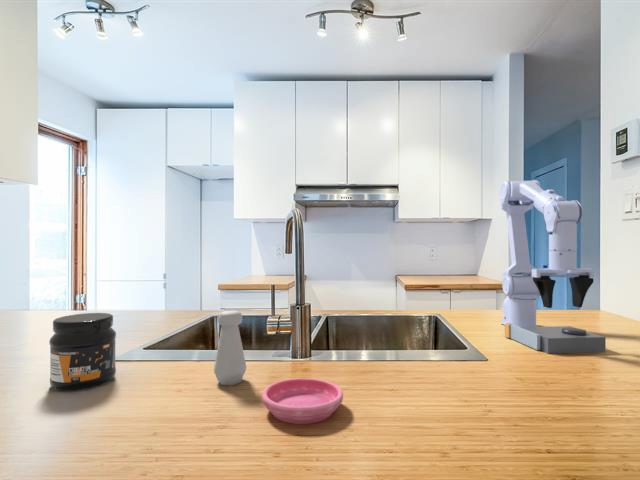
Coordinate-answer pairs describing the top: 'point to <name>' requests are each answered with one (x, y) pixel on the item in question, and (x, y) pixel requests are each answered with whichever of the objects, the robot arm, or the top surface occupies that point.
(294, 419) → the pink shallow bowl
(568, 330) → the grey flat block
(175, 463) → the top surface
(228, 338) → the salt shaker
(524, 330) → the side door
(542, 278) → the robot arm
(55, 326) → the supplement container
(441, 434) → the top surface
